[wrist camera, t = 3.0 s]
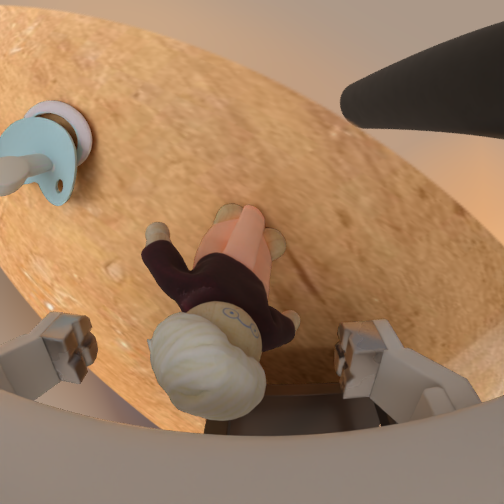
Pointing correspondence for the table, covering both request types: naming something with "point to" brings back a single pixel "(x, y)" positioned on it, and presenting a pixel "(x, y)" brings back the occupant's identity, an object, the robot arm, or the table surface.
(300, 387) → the rack
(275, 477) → the robot arm
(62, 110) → the pacifier
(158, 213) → the table surface
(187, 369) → the grandmother figurine
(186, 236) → the table surface
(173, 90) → the table surface
